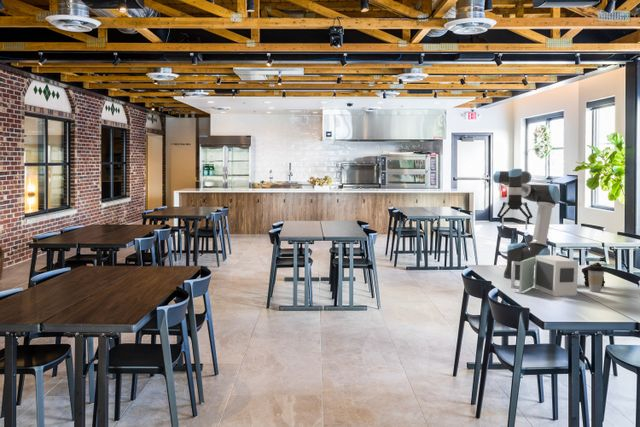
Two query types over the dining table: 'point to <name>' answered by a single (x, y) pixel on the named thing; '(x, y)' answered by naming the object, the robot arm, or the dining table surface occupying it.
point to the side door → (524, 274)
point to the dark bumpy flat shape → (588, 273)
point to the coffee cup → (595, 278)
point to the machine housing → (556, 275)
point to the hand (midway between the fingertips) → (514, 229)
